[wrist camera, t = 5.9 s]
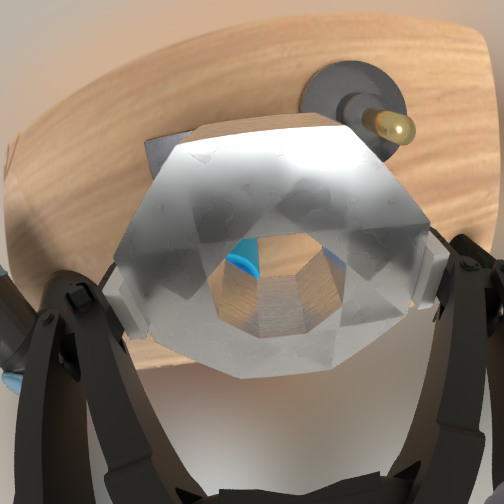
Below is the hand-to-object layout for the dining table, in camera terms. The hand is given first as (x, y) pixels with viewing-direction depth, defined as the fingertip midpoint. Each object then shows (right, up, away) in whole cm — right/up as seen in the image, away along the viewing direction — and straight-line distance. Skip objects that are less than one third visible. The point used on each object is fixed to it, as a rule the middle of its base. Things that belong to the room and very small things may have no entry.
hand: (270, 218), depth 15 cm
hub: (+12, +16, +15) cm, 25 cm away
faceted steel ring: (0, -1, -2) cm, 2 cm away
